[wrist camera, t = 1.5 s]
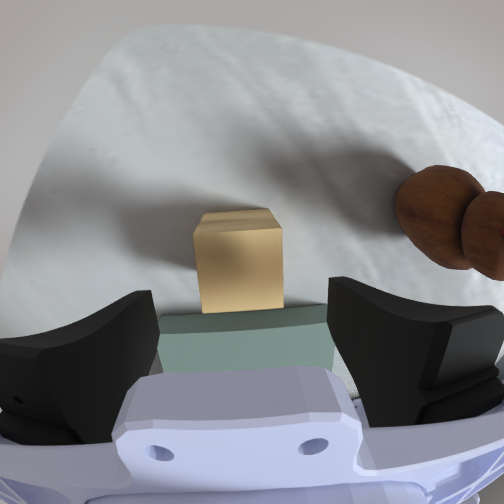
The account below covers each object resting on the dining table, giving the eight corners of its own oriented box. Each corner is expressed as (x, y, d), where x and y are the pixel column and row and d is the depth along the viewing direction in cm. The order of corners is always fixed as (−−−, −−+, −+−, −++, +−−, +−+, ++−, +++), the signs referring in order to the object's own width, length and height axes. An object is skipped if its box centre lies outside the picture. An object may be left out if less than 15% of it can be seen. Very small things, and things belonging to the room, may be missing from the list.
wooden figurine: (368, 196, 20) (537, 264, 6) (417, 150, 20) (585, 168, 5) (410, 259, 22) (543, 358, 8) (453, 215, 21) (593, 276, 7)
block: (271, 268, 22) (283, 307, 16) (210, 273, 22) (202, 313, 16) (268, 208, 20) (281, 228, 15) (204, 213, 20) (192, 234, 15)
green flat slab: (317, 399, 26) (324, 421, 24) (186, 409, 26) (182, 432, 23) (325, 302, 23) (337, 321, 20) (162, 313, 23) (153, 334, 20)
